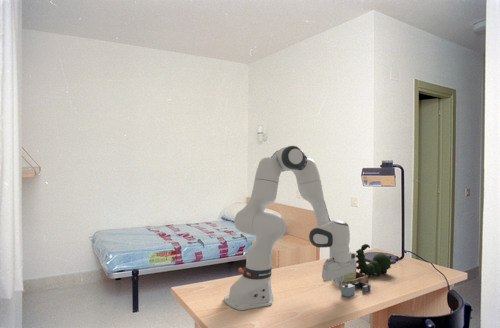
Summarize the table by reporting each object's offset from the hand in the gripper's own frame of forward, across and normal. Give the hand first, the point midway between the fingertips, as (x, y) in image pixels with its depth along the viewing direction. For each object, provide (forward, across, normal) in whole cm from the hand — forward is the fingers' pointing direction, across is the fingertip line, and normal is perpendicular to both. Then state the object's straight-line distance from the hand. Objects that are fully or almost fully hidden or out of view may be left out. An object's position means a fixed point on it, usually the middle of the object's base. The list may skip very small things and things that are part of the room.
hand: (338, 285), depth 161 cm
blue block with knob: (+5, +6, -1) cm, 8 cm away
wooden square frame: (+6, +19, +10) cm, 22 cm away
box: (+6, +20, +11) cm, 23 cm away
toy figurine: (+7, +41, +7) cm, 42 cm away
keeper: (+6, +15, -2) cm, 16 cm away
